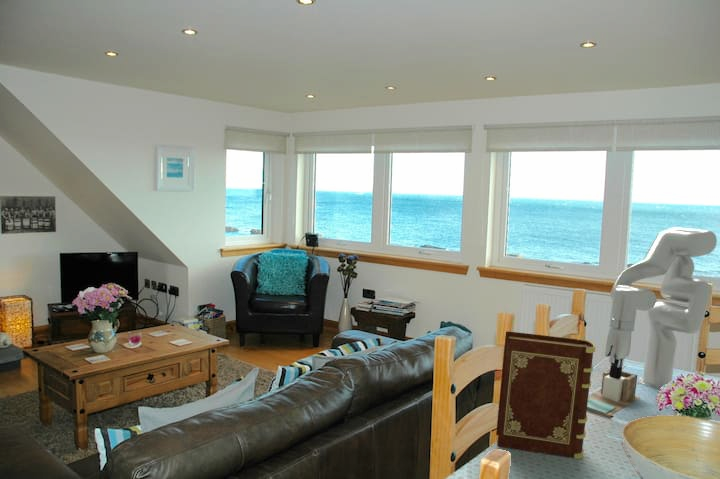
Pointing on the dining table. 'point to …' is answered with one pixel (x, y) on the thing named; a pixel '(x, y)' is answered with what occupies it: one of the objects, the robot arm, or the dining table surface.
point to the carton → (613, 388)
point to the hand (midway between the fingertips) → (614, 377)
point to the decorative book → (544, 394)
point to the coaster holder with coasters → (609, 406)
